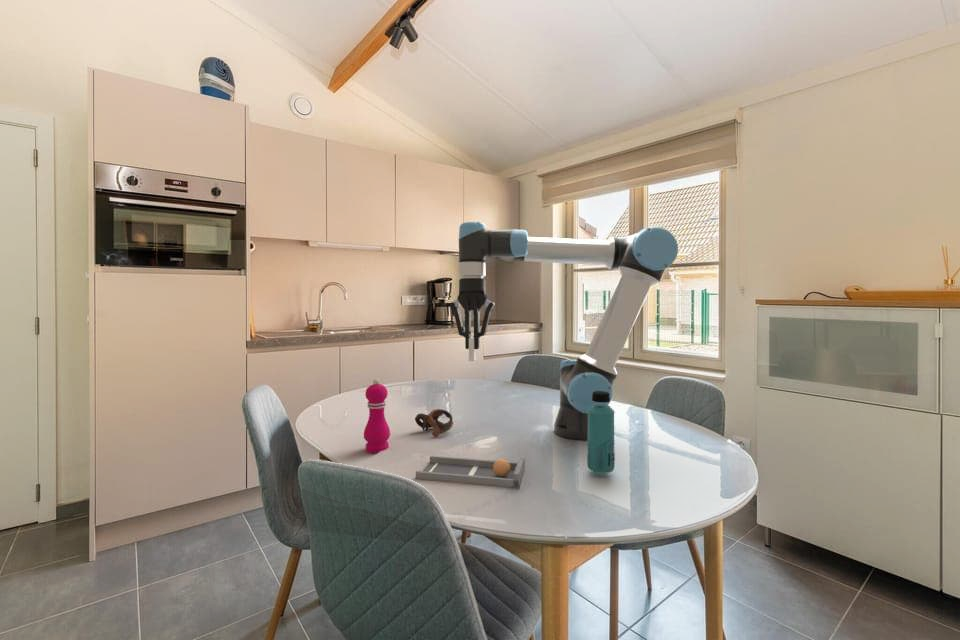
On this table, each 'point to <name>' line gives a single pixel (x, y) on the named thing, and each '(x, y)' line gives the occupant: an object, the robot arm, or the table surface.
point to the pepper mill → (376, 419)
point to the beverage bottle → (600, 435)
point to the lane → (471, 471)
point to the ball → (501, 467)
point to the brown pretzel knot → (434, 421)
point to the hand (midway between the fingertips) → (472, 360)
